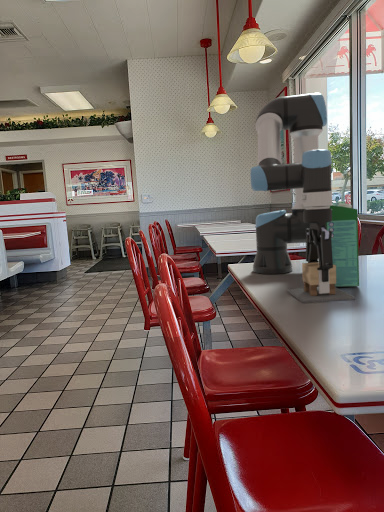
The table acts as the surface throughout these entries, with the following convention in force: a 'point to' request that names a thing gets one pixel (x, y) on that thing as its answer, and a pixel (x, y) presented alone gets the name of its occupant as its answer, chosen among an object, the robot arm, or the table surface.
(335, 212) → the milk carton
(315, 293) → the footstool
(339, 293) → the mat
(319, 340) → the table surface
